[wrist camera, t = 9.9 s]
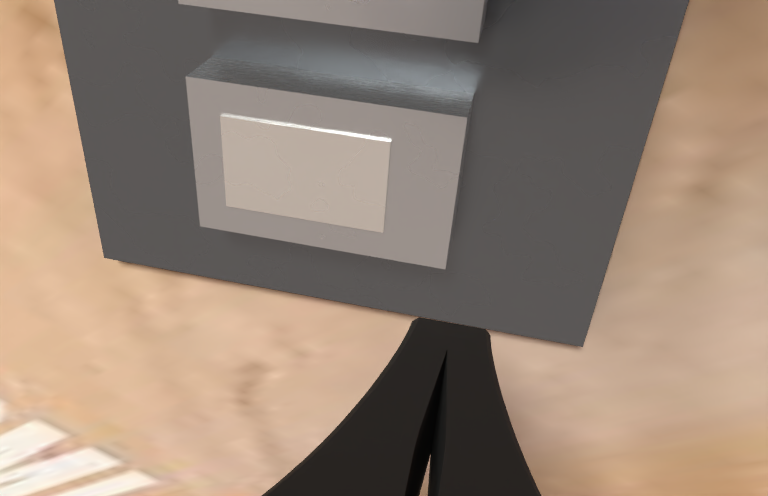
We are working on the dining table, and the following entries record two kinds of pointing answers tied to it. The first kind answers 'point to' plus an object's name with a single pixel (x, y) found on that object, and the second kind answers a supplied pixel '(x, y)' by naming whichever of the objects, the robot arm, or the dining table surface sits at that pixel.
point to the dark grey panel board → (407, 66)
